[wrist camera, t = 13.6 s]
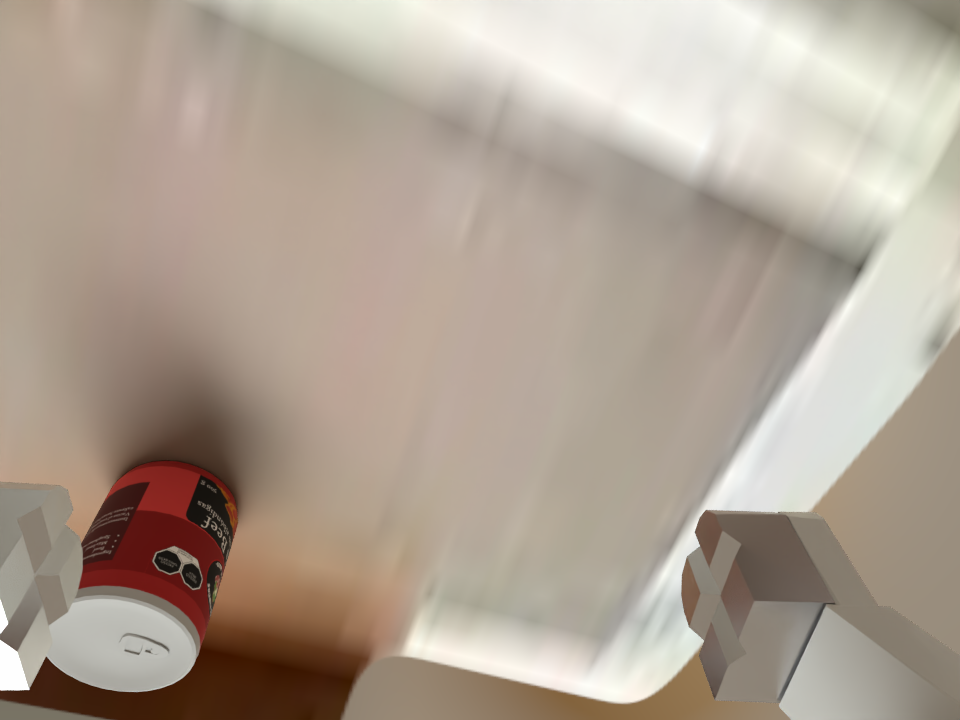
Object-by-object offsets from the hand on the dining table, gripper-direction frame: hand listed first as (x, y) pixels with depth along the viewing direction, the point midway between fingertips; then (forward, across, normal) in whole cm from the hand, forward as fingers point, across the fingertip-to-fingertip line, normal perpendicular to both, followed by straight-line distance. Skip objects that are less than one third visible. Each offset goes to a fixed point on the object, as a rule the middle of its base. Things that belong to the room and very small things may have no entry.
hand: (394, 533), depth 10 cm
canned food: (+31, +14, +28) cm, 44 cm away
